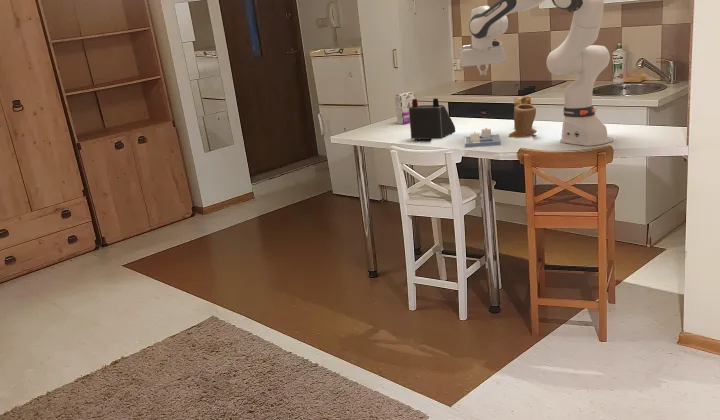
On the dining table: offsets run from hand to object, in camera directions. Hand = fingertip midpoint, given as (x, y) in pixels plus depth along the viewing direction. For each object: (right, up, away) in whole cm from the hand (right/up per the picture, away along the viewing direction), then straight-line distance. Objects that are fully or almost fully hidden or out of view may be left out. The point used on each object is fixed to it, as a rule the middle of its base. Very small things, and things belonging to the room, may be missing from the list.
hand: (483, 75), depth 298 cm
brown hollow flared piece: (+19, -28, +2) cm, 34 cm away
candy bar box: (-29, -12, +72) cm, 79 cm away
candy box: (+23, -22, +22) cm, 39 cm away
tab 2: (+1, -30, -4) cm, 30 cm away
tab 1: (-5, -33, -11) cm, 35 cm away
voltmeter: (-20, -26, +22) cm, 40 cm away
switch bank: (-2, -33, -7) cm, 33 cm away
